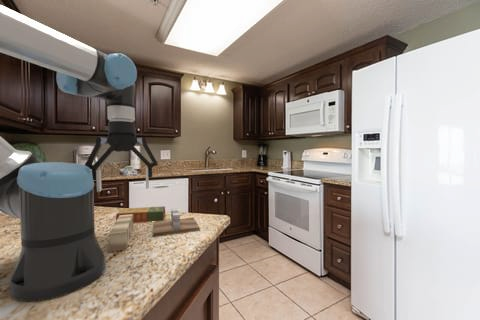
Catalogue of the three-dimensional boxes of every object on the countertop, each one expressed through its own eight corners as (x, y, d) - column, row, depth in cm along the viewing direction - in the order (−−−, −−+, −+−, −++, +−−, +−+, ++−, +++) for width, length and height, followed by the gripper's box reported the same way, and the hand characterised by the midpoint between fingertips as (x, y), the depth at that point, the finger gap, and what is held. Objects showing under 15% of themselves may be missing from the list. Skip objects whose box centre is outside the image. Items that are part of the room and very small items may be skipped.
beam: (126, 250, 60) (125, 232, 60) (109, 253, 59) (108, 234, 58) (133, 228, 77) (132, 214, 77) (119, 230, 76) (119, 215, 75)
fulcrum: (199, 230, 74) (199, 214, 74) (153, 236, 69) (153, 219, 69) (193, 220, 85) (193, 205, 85) (153, 224, 80) (152, 209, 80)
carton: (122, 218, 89) (122, 207, 89) (165, 215, 93) (165, 205, 92) (116, 225, 81) (115, 213, 81) (163, 221, 84) (163, 210, 84)
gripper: (163, 124, 79) (165, 184, 80) (77, 121, 70) (81, 190, 71) (164, 121, 72) (166, 188, 73) (69, 118, 63) (73, 194, 64)
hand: (124, 189), depth 72 cm, fingers open, 13 cm apart
